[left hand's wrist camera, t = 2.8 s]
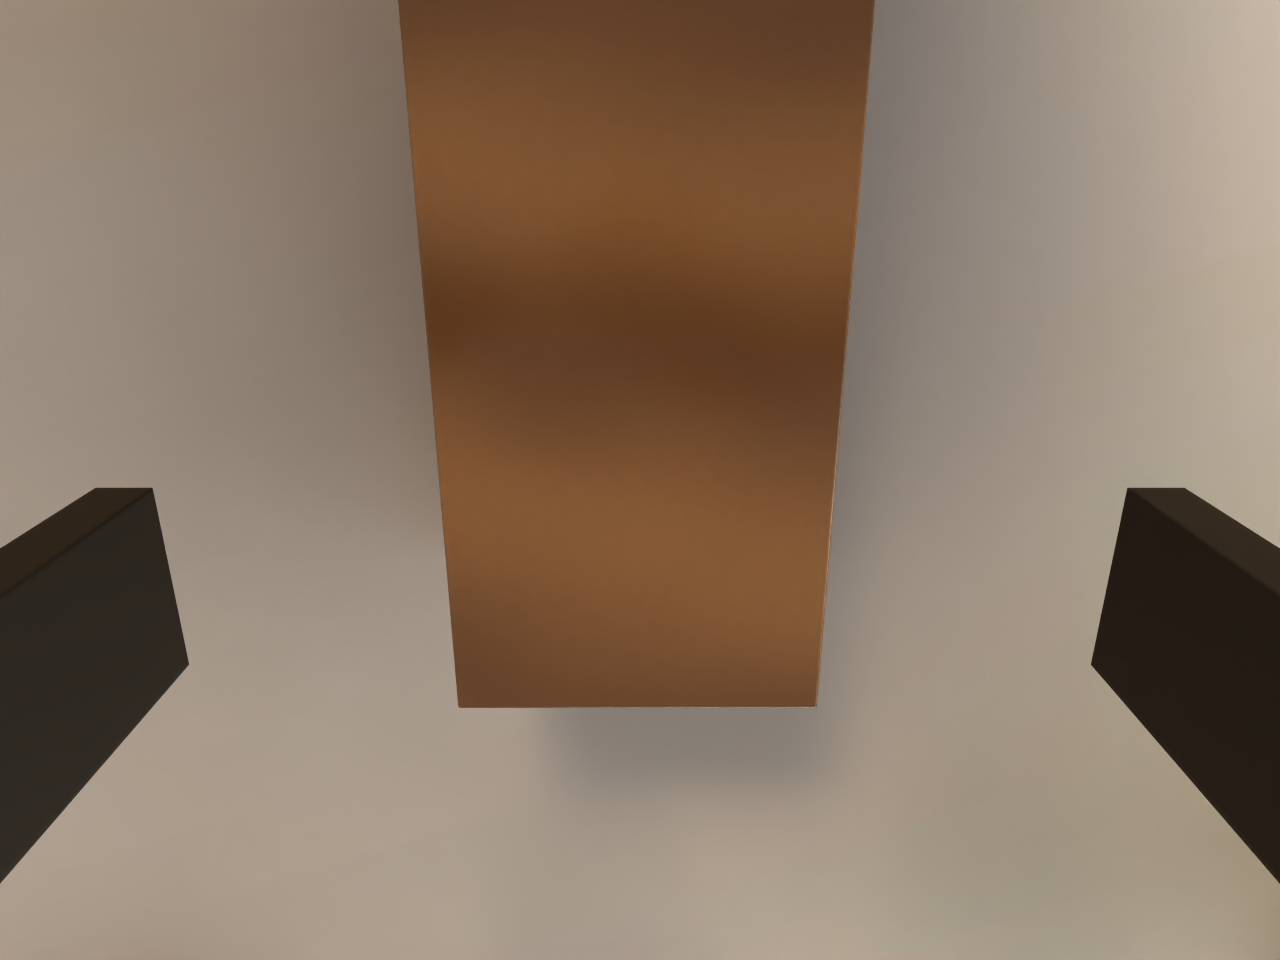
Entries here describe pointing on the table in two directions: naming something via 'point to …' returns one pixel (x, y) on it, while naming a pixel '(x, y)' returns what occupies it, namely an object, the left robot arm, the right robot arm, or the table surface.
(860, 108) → the wide beam
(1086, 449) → the table surface
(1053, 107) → the table surface
